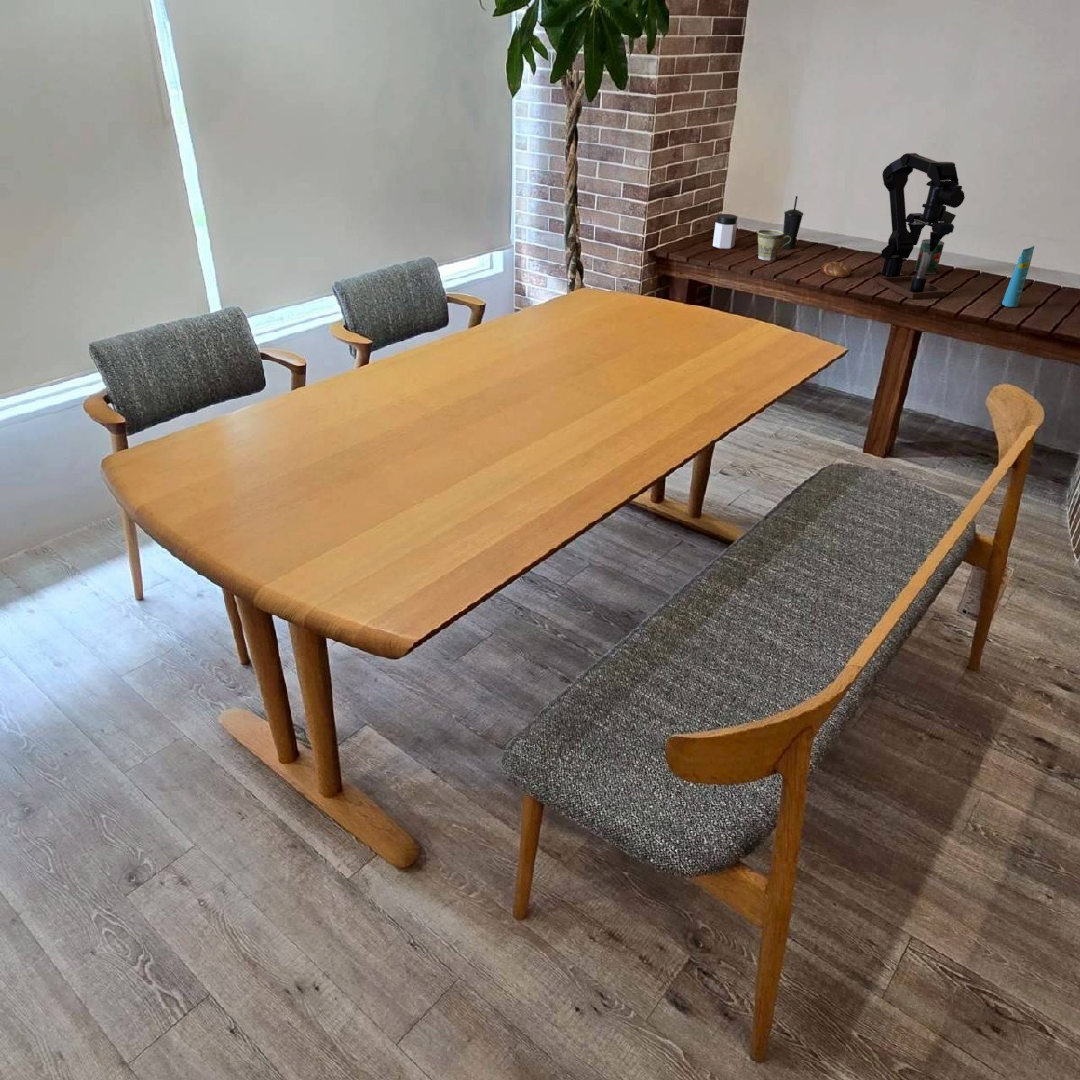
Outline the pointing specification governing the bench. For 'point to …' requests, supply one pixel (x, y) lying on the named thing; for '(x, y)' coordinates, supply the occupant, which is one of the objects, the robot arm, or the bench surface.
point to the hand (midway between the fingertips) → (923, 248)
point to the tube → (1018, 278)
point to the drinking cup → (791, 226)
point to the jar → (725, 231)
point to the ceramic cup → (769, 243)
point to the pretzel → (836, 269)
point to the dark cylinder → (920, 274)
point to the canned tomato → (933, 257)
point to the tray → (904, 286)
